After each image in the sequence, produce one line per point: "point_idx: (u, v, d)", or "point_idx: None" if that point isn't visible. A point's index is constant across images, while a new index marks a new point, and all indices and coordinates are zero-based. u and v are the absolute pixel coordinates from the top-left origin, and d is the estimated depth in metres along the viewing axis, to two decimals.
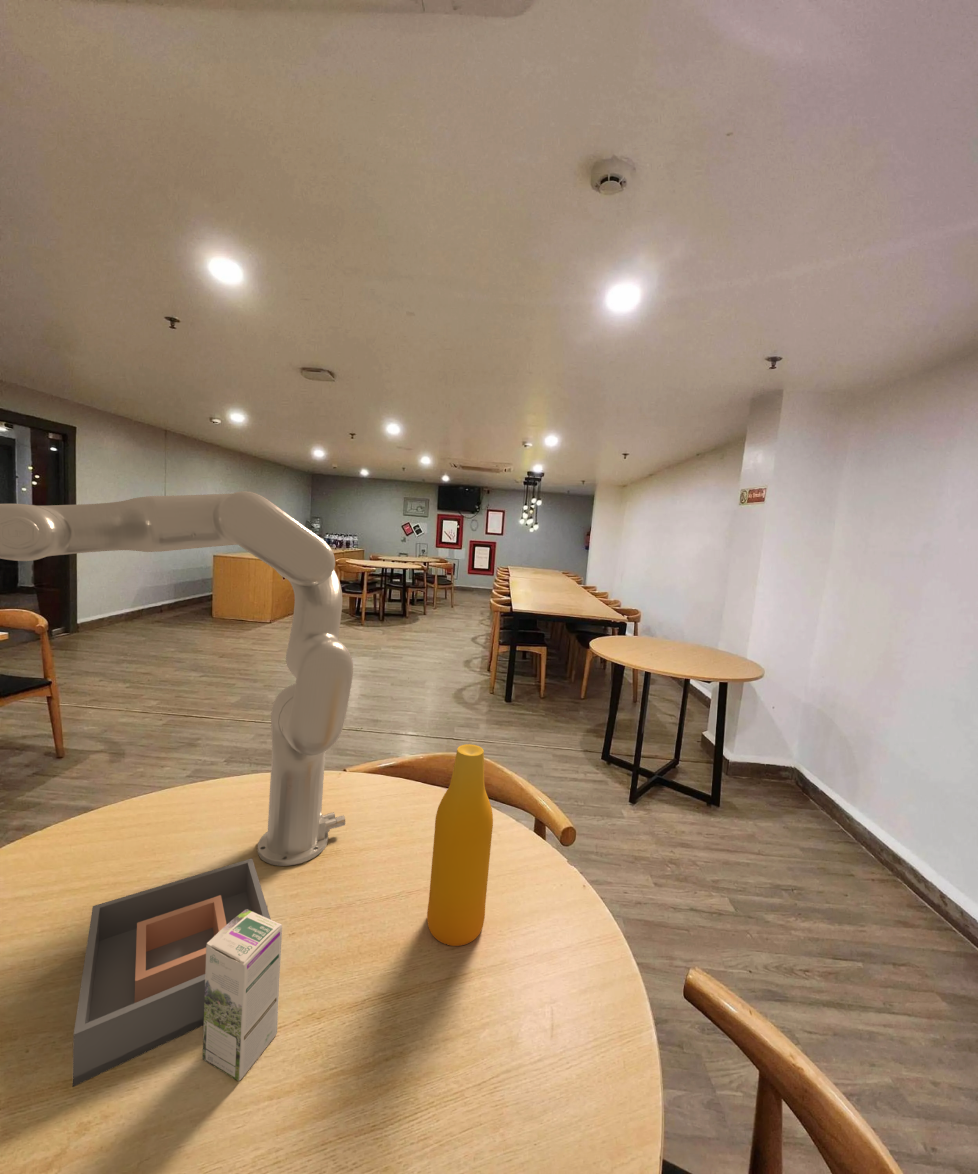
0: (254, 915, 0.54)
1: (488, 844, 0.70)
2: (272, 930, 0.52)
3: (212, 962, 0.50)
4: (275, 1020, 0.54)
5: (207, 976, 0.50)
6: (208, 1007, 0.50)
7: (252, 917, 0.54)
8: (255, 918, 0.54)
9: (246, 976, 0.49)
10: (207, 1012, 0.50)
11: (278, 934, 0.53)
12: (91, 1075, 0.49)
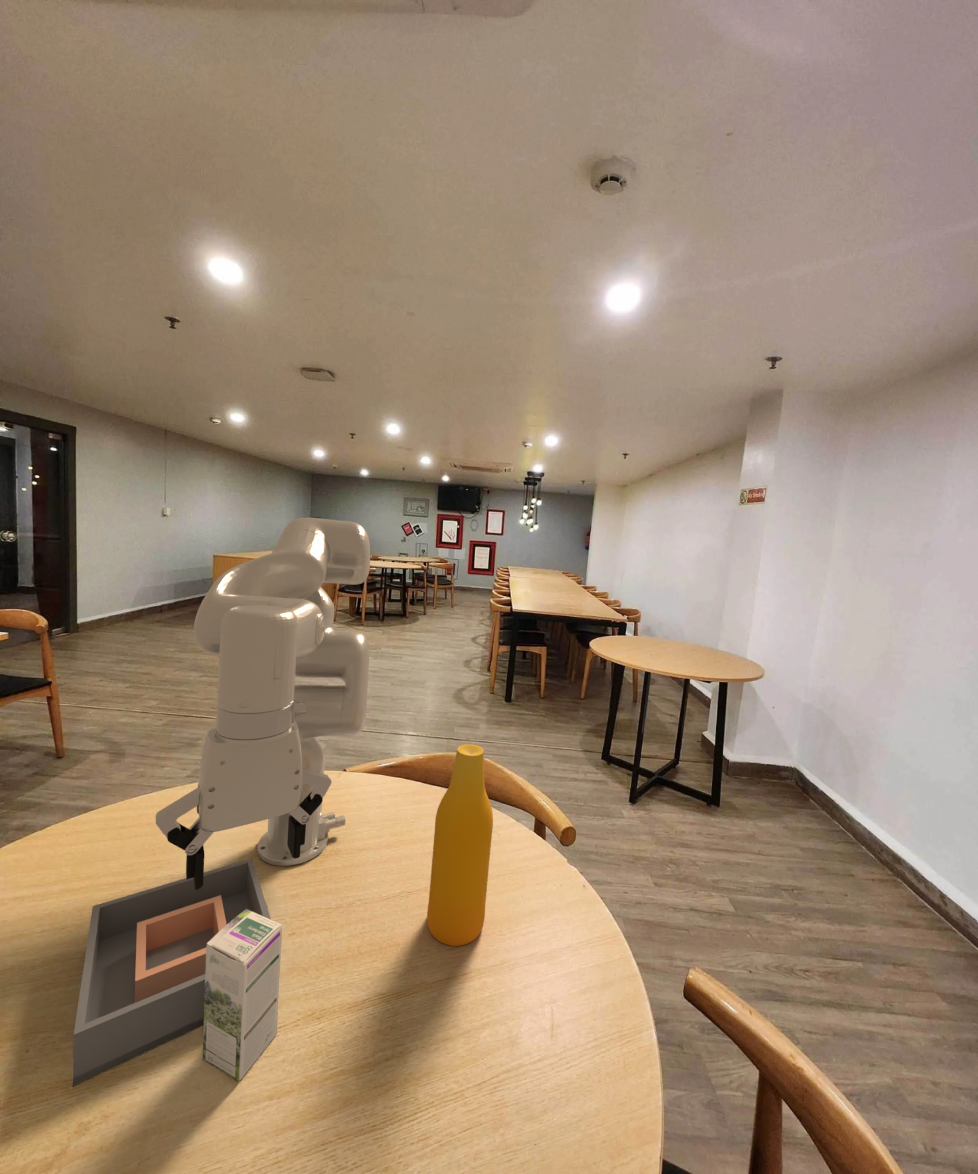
0: (254, 915, 0.54)
1: (488, 844, 0.70)
2: (272, 930, 0.52)
3: (212, 962, 0.50)
4: (275, 1020, 0.54)
5: (207, 976, 0.50)
6: (208, 1007, 0.50)
7: (252, 917, 0.54)
8: (255, 918, 0.54)
9: (246, 976, 0.49)
10: (207, 1012, 0.50)
11: (278, 934, 0.53)
12: (91, 1075, 0.49)
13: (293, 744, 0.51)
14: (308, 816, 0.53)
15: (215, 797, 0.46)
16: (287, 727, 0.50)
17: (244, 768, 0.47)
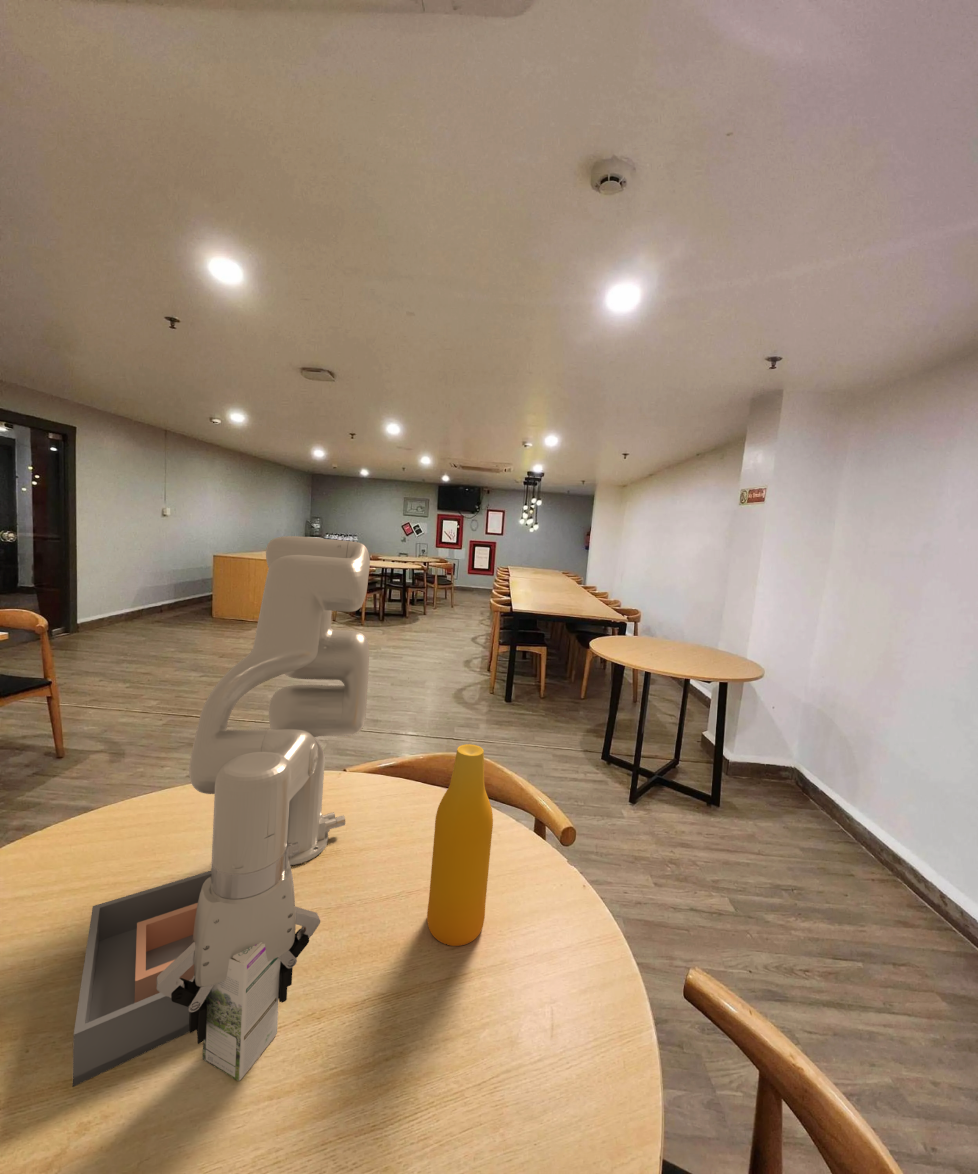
0: None
1: (488, 844, 0.70)
2: None
3: None
4: (275, 1020, 0.54)
5: None
6: (208, 1007, 0.50)
7: None
8: None
9: (246, 976, 0.49)
10: (207, 1012, 0.50)
11: None
12: (91, 1075, 0.49)
13: (286, 890, 0.52)
14: (295, 959, 0.54)
15: (210, 955, 0.48)
16: (280, 876, 0.51)
17: (238, 922, 0.49)
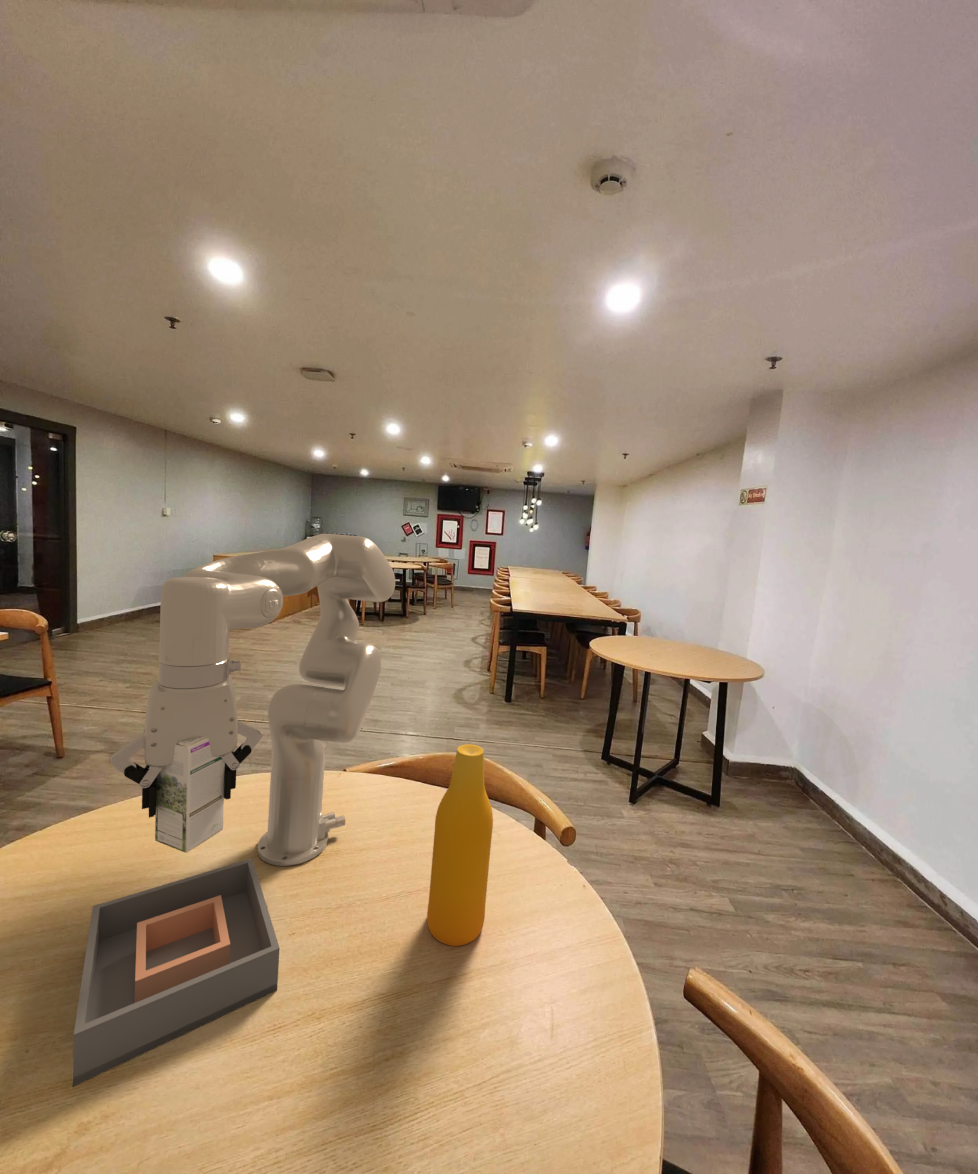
0: None
1: (488, 844, 0.70)
2: None
3: None
4: (220, 815, 0.61)
5: None
6: (159, 792, 0.58)
7: None
8: None
9: (190, 759, 0.56)
10: (158, 796, 0.58)
11: None
12: (91, 1075, 0.49)
13: (227, 695, 0.59)
14: (238, 763, 0.62)
15: (157, 737, 0.55)
16: (221, 680, 0.58)
17: (182, 713, 0.56)
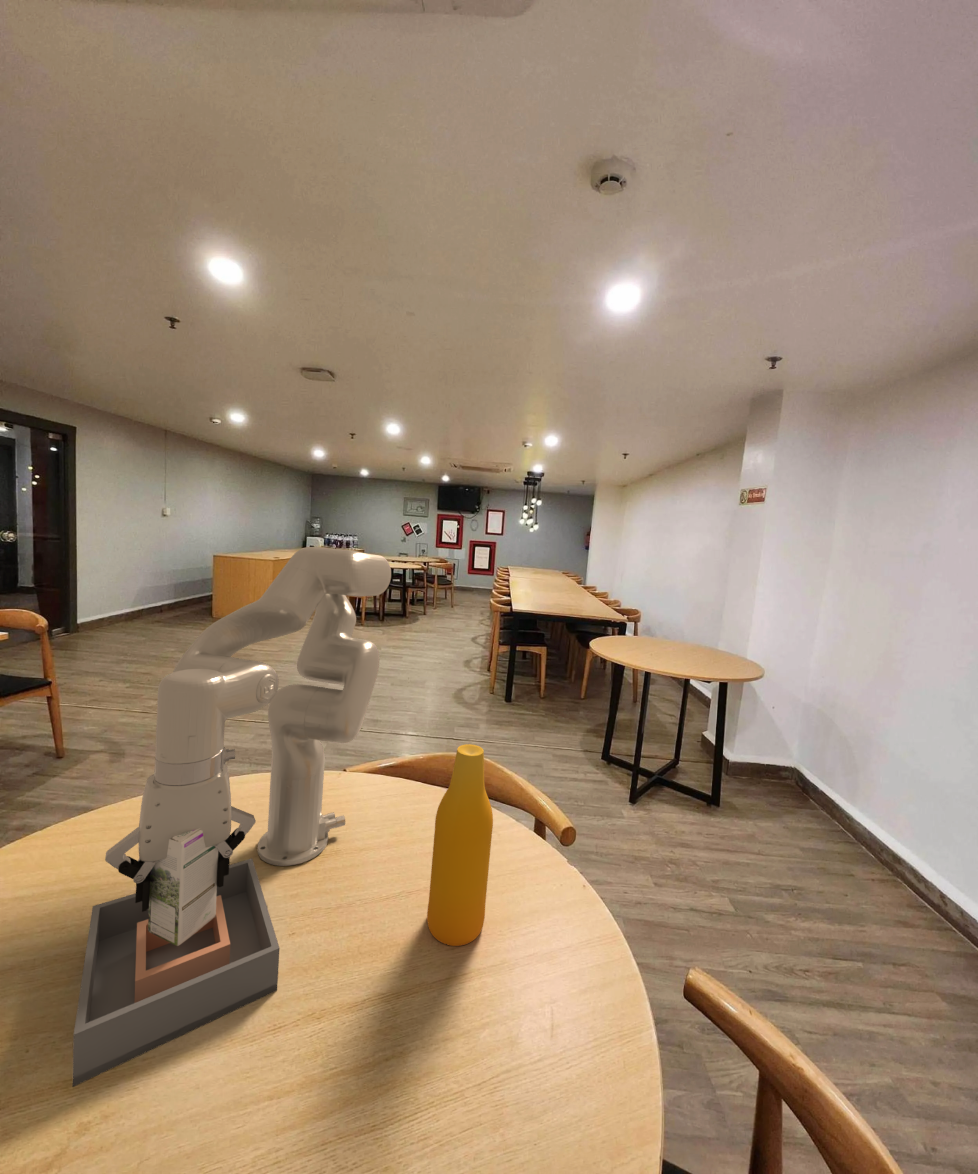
0: None
1: (488, 844, 0.70)
2: None
3: None
4: (213, 903, 0.62)
5: None
6: (152, 884, 0.59)
7: None
8: None
9: (183, 854, 0.57)
10: (151, 888, 0.59)
11: None
12: (91, 1075, 0.49)
13: (221, 786, 0.60)
14: (231, 851, 0.63)
15: (152, 833, 0.56)
16: (215, 772, 0.59)
17: (177, 808, 0.57)
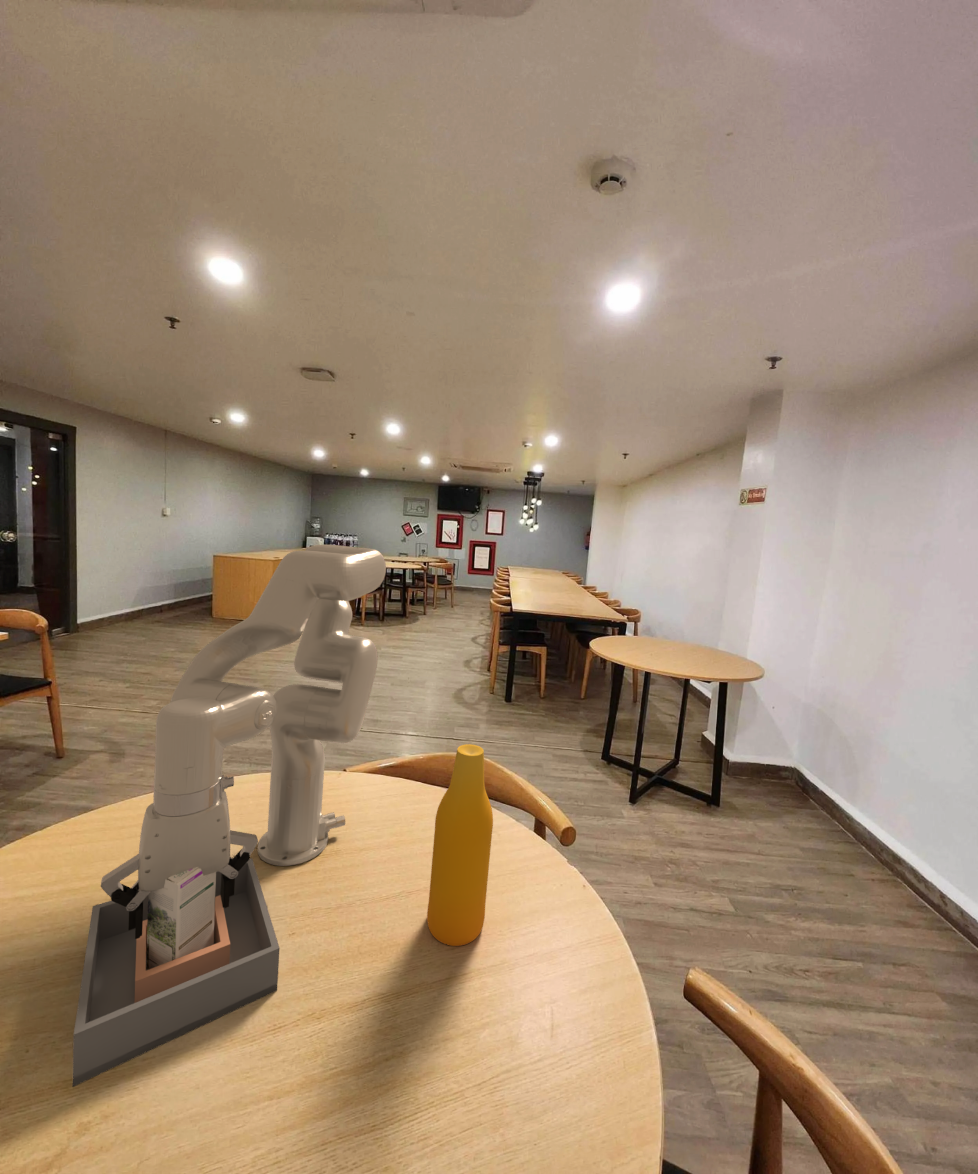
0: None
1: (488, 844, 0.70)
2: None
3: None
4: (211, 939, 0.63)
5: (149, 896, 0.59)
6: (150, 922, 0.59)
7: None
8: None
9: (179, 894, 0.57)
10: (149, 927, 0.59)
11: None
12: (91, 1075, 0.49)
13: (220, 814, 0.61)
14: (236, 872, 0.63)
15: (151, 864, 0.56)
16: (214, 801, 0.60)
17: (176, 838, 0.57)
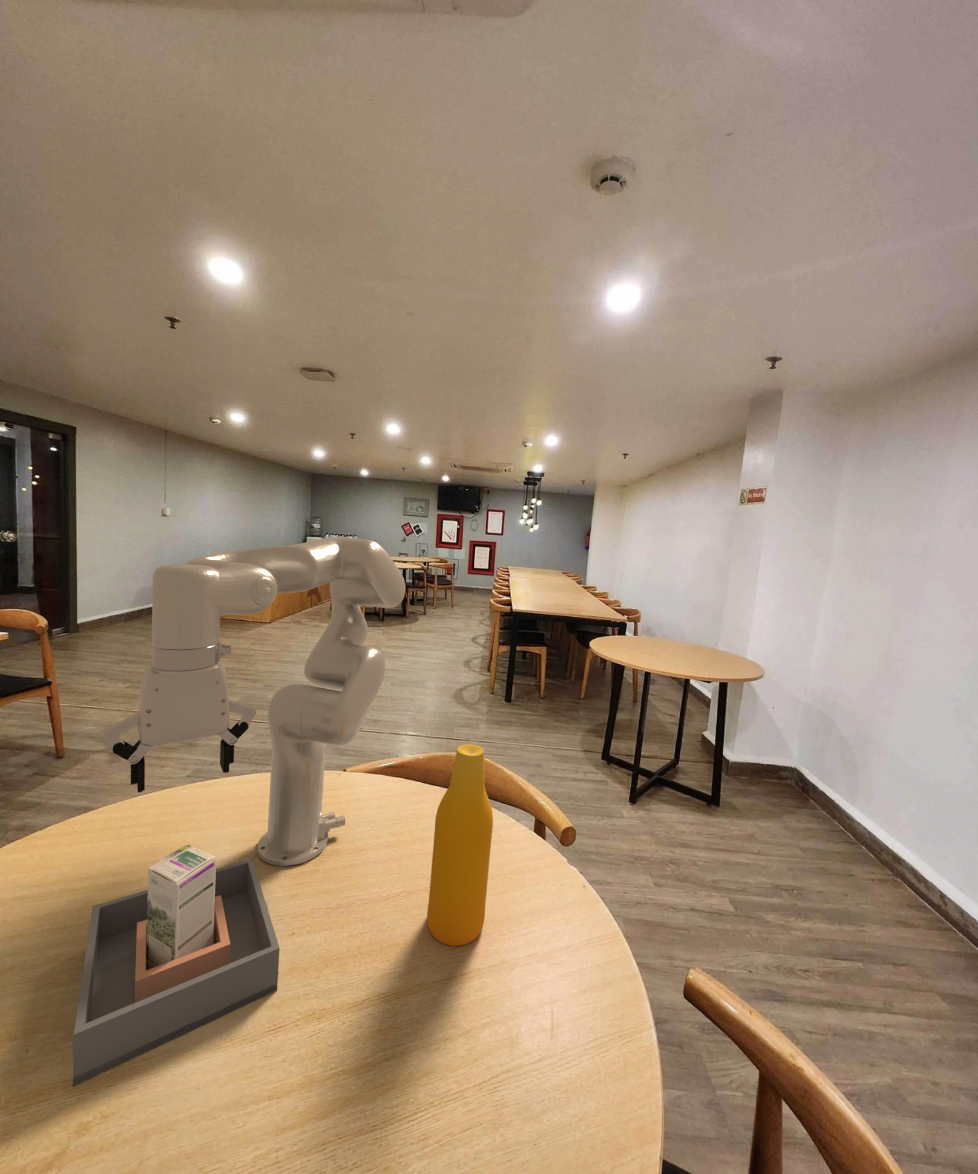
0: (193, 849, 0.63)
1: (488, 844, 0.70)
2: (206, 860, 0.61)
3: (152, 883, 0.58)
4: (210, 940, 0.62)
5: (149, 896, 0.59)
6: (150, 922, 0.59)
7: (191, 850, 0.62)
8: (194, 851, 0.62)
9: (179, 895, 0.57)
10: (149, 926, 0.59)
11: (212, 864, 0.61)
12: (91, 1075, 0.49)
13: (219, 678, 0.62)
14: (235, 739, 0.65)
15: (152, 718, 0.57)
16: (213, 663, 0.61)
17: (175, 695, 0.59)
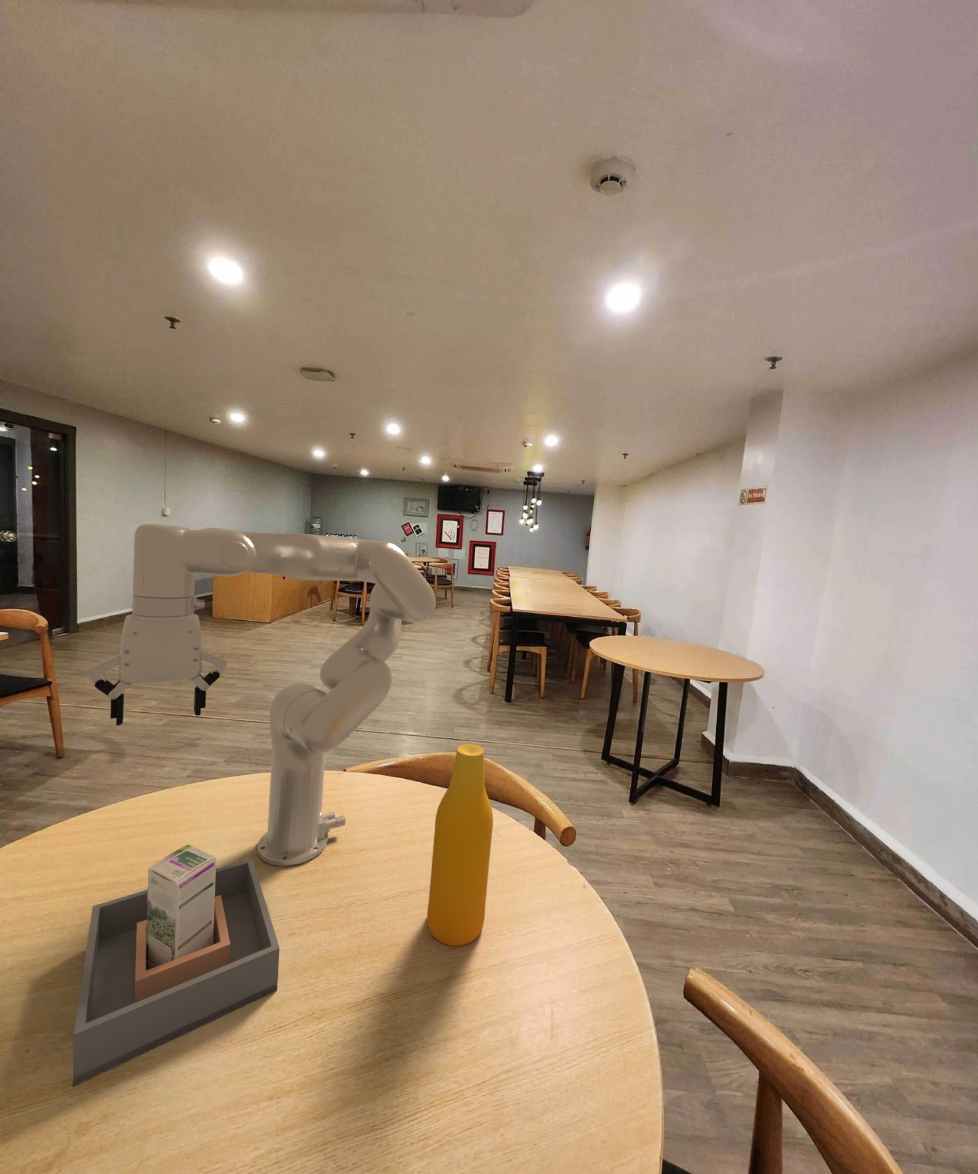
0: (193, 849, 0.63)
1: (488, 844, 0.70)
2: (206, 860, 0.61)
3: (152, 883, 0.58)
4: (210, 940, 0.62)
5: (149, 896, 0.59)
6: (150, 922, 0.59)
7: (191, 850, 0.62)
8: (194, 851, 0.62)
9: (179, 895, 0.57)
10: (149, 927, 0.59)
11: (212, 864, 0.61)
12: (91, 1075, 0.49)
13: (192, 627, 0.69)
14: (207, 685, 0.72)
15: (130, 658, 0.65)
16: (186, 613, 0.68)
17: (152, 639, 0.66)
